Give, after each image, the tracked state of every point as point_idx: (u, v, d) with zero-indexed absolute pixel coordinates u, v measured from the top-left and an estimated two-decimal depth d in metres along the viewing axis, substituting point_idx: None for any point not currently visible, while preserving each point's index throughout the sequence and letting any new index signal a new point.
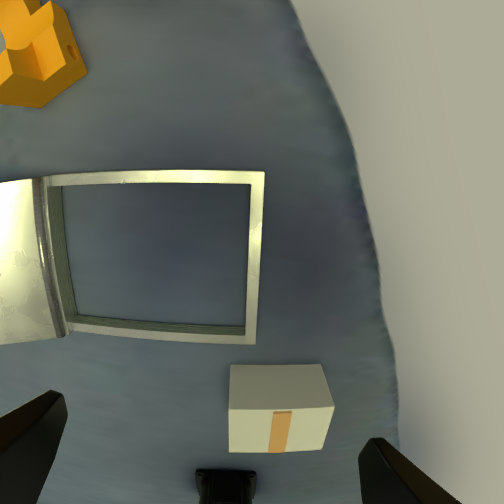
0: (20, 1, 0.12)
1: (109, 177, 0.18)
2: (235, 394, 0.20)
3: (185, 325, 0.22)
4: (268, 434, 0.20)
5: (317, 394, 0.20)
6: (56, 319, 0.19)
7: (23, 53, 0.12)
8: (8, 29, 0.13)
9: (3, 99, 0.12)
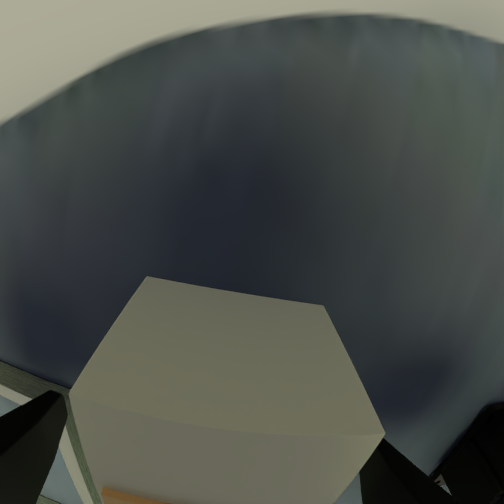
0: None
1: None
2: None
3: None
4: None
5: None
6: None
7: None
8: None
9: None
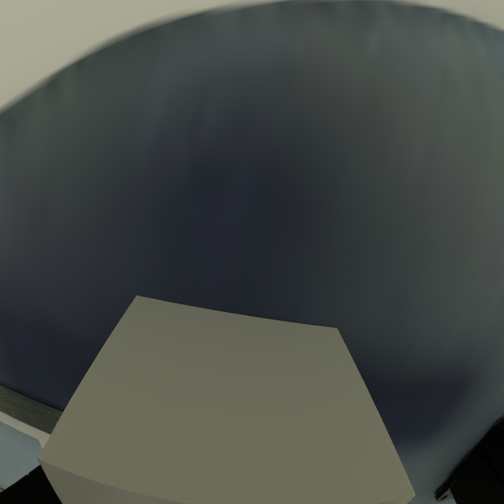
0: None
1: None
2: None
3: None
4: None
5: None
6: None
7: None
8: None
9: None
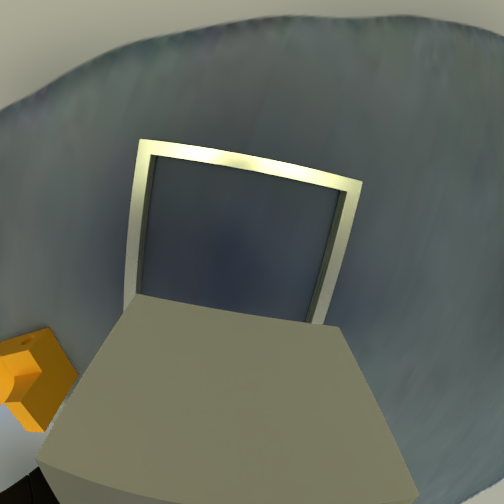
0: None
1: None
2: None
3: (322, 262, 0.18)
4: None
5: None
6: None
7: (15, 387, 0.15)
8: (9, 394, 0.18)
9: (49, 412, 0.15)
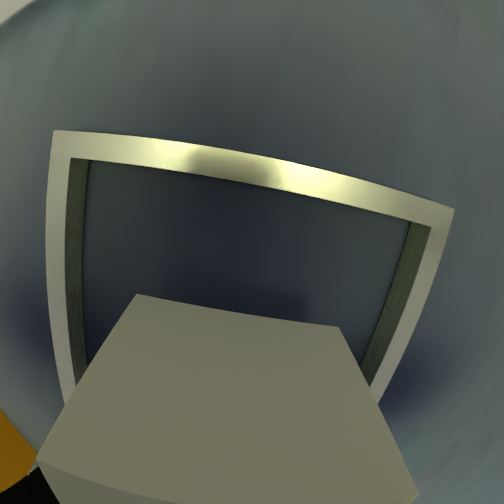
0: None
1: None
2: None
3: (374, 337, 0.10)
4: None
5: None
6: None
7: None
8: None
9: None
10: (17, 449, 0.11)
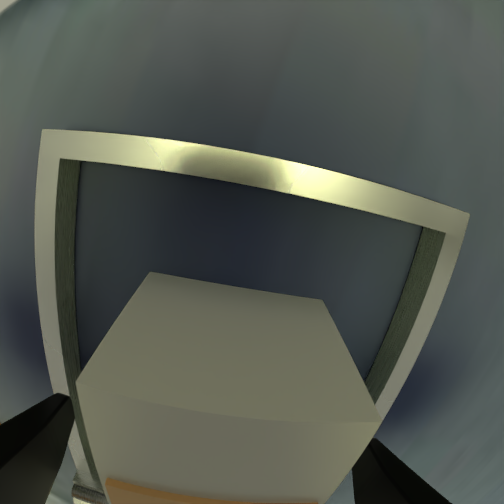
0: None
1: None
2: None
3: (383, 348, 0.10)
4: None
5: None
6: None
7: None
8: None
9: None
10: None
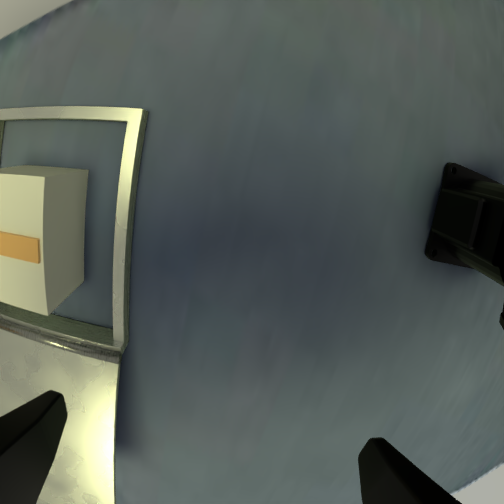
0: None
1: None
2: None
3: None
4: (10, 258, 0.13)
5: None
6: (95, 353, 0.17)
7: None
8: None
9: None
10: None
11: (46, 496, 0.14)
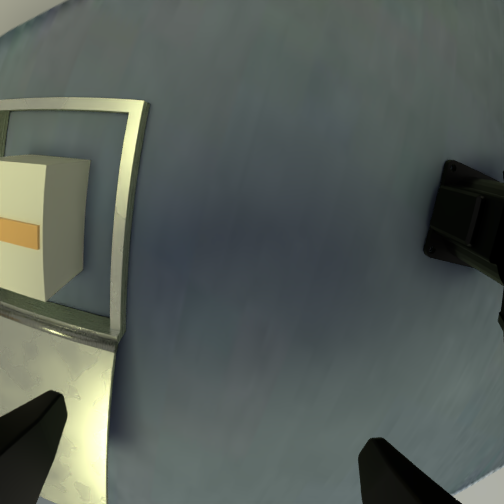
0: None
1: None
2: None
3: None
4: (10, 245, 0.13)
5: None
6: (91, 341, 0.17)
7: None
8: None
9: None
10: None
11: None
